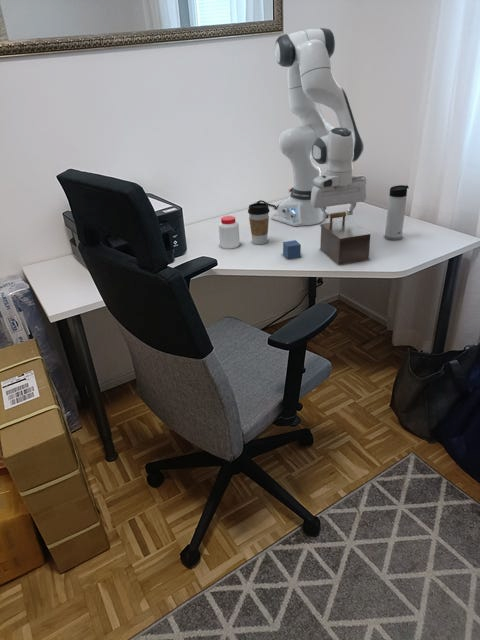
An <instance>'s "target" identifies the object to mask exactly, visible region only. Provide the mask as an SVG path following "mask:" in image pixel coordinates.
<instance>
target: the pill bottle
mask: <svg viewBox="0 0 480 640" xmlns="http://www.w3.org/2000/svg"><path fill="white" fill-rule="evenodd" d="M218 233H219V234H218V236H219V246H220V248H222V249H227V250H228V249H229V250H230V249H236V248H238V247H239V246H240V245H241V243H240V226H239V222H238V221H236V216H234V215H225V216H224V215H223V216H222V217H221V218H220V223H219V224H218Z"/></svg>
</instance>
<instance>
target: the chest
mask: <svg viewBox="0 0 480 640" xmlns="http://www.w3.org/2000/svg"><path fill="white" fill-rule="evenodd" d="M370 247H371V236H368V237H362V238H356V239H349V240H343V241H339V240H338V239H337V238H335V237H334V236H333V235H331V234H330V233H329V232H327V231H326V230H325V229H323V228H322V227H321V226H320V250H321V251H322V252H323V253H324V254H325V255H326V256H327V257H329V258H330V259H331V260H332V261H333V262H335V264H336V265H338V266H340V265H345V264H351V263H357V262H364V261H369V258H370Z"/></svg>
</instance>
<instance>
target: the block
mask: <svg viewBox="0 0 480 640" xmlns="http://www.w3.org/2000/svg"><path fill="white" fill-rule="evenodd" d="M301 251H302V245H301V243H300V242H299V241H298V240H296V239H294V240H293V239H292V240H287V241H282V255H283V257H285V258H286V259H287V260H293V259H299V258H301V257H302V256H301V255H302V253H301Z"/></svg>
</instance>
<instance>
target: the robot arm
mask: <svg viewBox="0 0 480 640" xmlns="http://www.w3.org/2000/svg"><path fill="white" fill-rule="evenodd" d="M335 48H336V41H335V36H334V33H333V31H332V30H331V29H329V28H325V27H320V28H310V29H303V30H300V31H295V32H292V33H288V34H287V33H284V34H282V35H280V36H278V37H277V38H276V40H275V44H274V57H275V60H276V63H277V64H278V65H279V66H280V67H282V68H283V67H284V68H287V88H288V90H287V91H288V100H289V108H290V109H289V110H290V111H291V113H292V114H293V115H295V116H296V117H298V118H299V119H300V121H301V123H302V125H300V126H299V125H298V126H294V127H293V126H292V127H290V128H288V129H287V130H284V131H282V132H281V134H280V135H279V138H278V147H279V150H280V152H281V154H282V155H284V156H285V157H286V158H287V159H288V160H289V163H290V164H291V166H292V171H293V187H291V188H289V190H288V193H290V195H289V196H288V197H286V198H285V199H284V200H282V201H281V202H279V204H277V205H276V204H271V203H269V202H266V201H265V200H261V199H260V200H258V201H256V203H266V204H268V207H269V206H270V207H273V208H274V209H275V210H277V211H276V212H275V213H274V214H273V215H272V217H271V219H272V220H274V221H275V222H276V221H277V222H280V223H283V224H287V225H288V226H289V225H290V226H293V227H301V226H313V225H317V224H321V223H322V222H323V221H324V220H325V219H330V217H329V214H330V213H328V212H327V211H326V210H327V208H329V207H335V206H342V205H350V206H349V208H347V209H346V216H353V215H354V214H353V213H354V210H355V209H356V206H357V203H363V202H365V201H366V199H367V189H366V188H367V187H366V185H367V178H366V176H364V175H362V174H360V175H353V172H354V166H353V163H355V162H356V161H358V160H359V159H360V157H361V156H362V155H363V152H364V146H365V145H364V141H363V138H362V136H361V133H360V132H359V129H358V127H357V124H356V121H355V117H354V115H353V111H352V108H351V104H350V102H349V98H348V95H347V93H346V91H345V89H344V88H343V87H342V86H340V85H339V83H338V82H337V81H336V79H335V77H334V76H335V75H334V74H333V69H332V63H331V57H332V56H333V55H334V53H335V50H336V49H335ZM320 105H323V106H326V107H328V108H329V109H331V110H333V111H334V113H335V115H336V117H337V120H338V121H337V122H338V124H339V127H335V126H334V125H332V124H331V123H329V121H327V120H326V118H325V116H324V114H323V112H322V110H321V107H320ZM312 159H313V160H314V161H315V162H316V163H317V164H316V163H315V162H313V160H312ZM318 164H319V165H327V168H326V172H324V173H322V171H321V168H320V167H319V165H318ZM321 173H322V174H321ZM259 201H260V202H259Z"/></svg>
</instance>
